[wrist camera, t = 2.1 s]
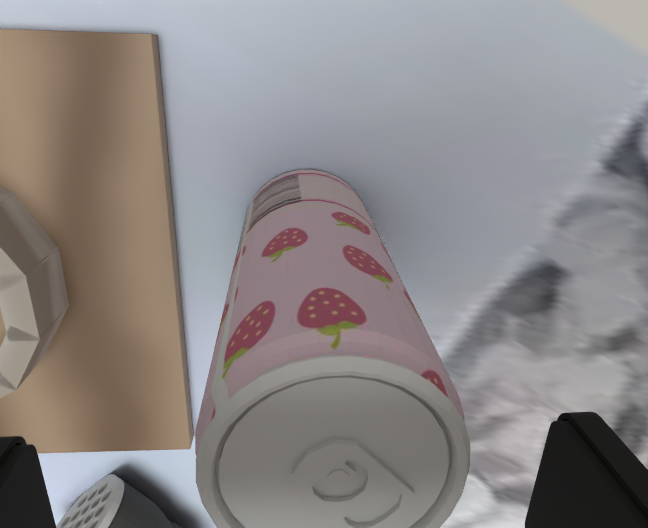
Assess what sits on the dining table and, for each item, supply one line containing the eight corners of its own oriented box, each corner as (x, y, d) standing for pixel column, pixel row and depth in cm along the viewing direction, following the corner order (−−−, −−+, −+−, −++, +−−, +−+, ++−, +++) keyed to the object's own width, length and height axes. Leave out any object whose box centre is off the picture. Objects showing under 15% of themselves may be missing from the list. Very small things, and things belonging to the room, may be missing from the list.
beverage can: (338, 298, 25) (405, 604, 11) (228, 261, 24) (148, 552, 10) (387, 194, 23) (539, 407, 9) (269, 148, 22) (241, 312, 8)
